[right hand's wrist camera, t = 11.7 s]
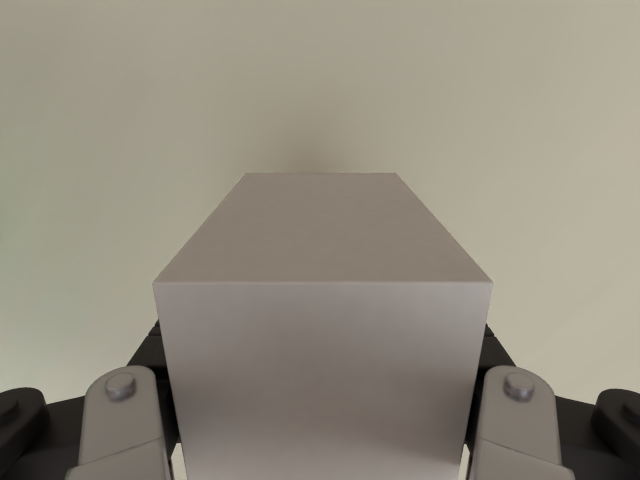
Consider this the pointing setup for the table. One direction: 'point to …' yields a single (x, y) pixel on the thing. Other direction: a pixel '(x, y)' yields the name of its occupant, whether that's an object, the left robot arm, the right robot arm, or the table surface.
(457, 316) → the box
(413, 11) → the table surface
